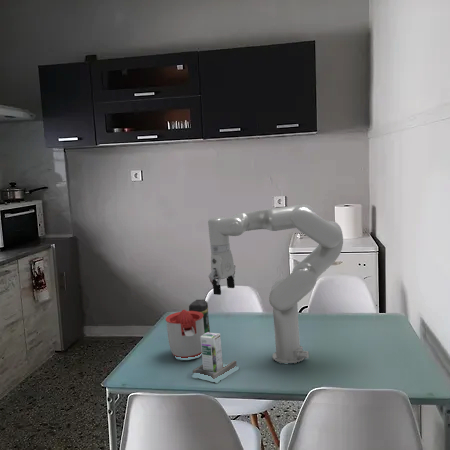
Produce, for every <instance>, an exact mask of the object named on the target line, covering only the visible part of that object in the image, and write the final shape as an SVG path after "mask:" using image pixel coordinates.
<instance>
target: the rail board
mask: <svg viewBox="0 0 450 450" xmlns="http://www.w3.org/2000/svg"><path fill="white" fill-rule="evenodd" d="M227 364H228V365H227V366H225V367H223V368H222V369H220V370H219V371H217V372H211V371H207V370H203V364H201V365H200V366H197V367H196V368H194V369H193V370H192V374H193V373H200V374H204V375H208V376H211V377H212V378H213V379H215V378H217V377H218V376H220V375H222V374H224V373H225V372H227V371H229V370H230V369H232V368H234V367H235V366H238V365H237V361H236V360H232V361H231V362H230V363H227Z"/></svg>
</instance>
